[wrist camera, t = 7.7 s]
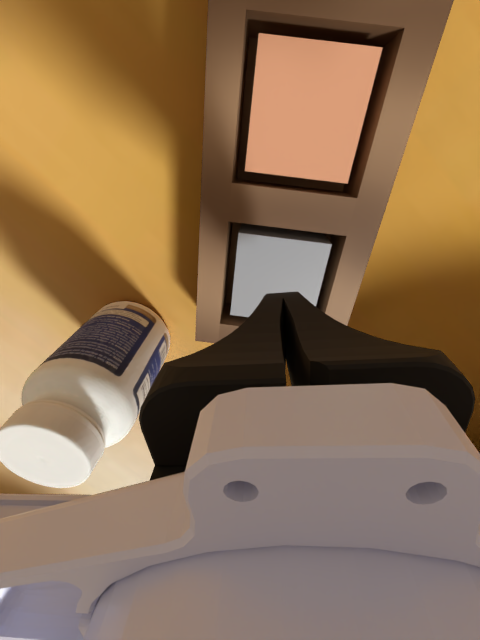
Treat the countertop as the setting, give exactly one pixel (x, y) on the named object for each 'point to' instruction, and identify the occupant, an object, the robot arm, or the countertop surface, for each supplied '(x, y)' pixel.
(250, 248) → the key slate
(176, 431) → the robot arm
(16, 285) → the countertop surface
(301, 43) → the salmon orange square block
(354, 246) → the board
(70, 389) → the pill bottle
